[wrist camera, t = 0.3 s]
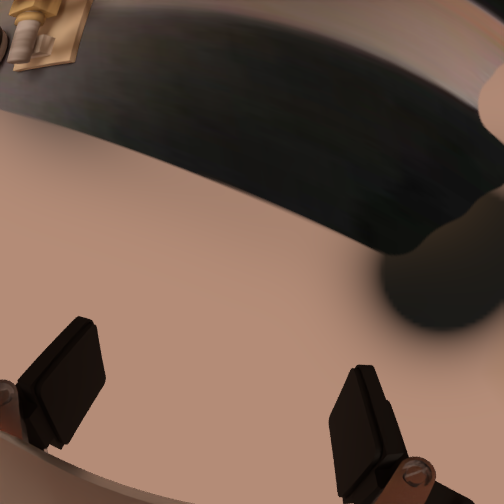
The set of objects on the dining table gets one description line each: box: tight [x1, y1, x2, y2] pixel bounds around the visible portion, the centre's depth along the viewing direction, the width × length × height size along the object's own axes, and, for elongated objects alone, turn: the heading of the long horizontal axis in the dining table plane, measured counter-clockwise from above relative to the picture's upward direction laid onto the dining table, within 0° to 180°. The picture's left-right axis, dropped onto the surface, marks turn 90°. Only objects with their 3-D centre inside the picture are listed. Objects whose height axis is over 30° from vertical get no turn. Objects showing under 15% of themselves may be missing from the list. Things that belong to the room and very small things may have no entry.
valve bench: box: [7, 0, 93, 72], centre depth 24 cm, size 22×14×11 cm, turn 170°
